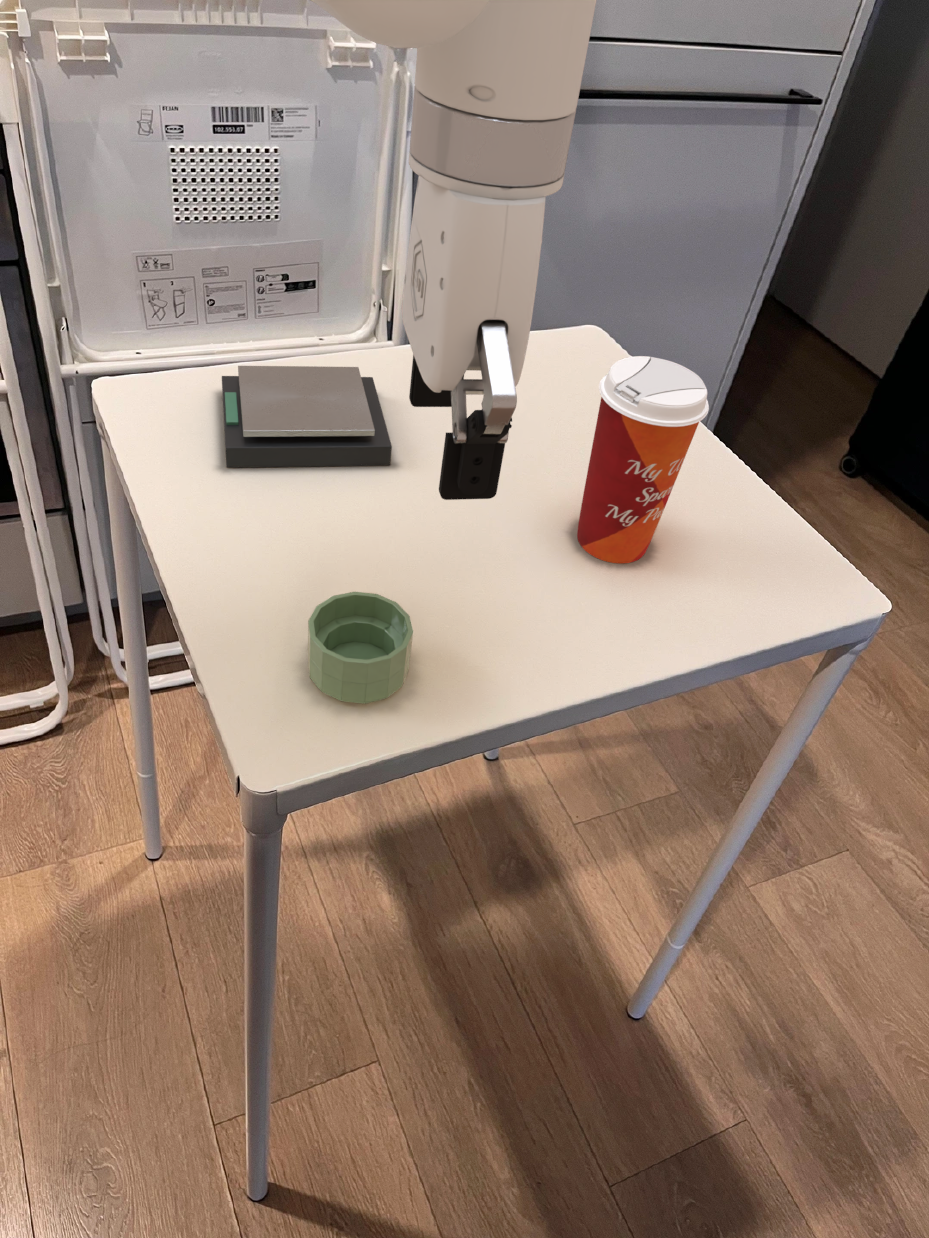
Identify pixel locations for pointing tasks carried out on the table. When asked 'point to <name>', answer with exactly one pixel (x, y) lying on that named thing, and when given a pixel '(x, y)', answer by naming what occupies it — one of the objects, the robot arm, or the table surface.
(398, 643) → the bowl
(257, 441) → the scale base
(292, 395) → the platform
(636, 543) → the coffee cup
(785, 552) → the table surface
